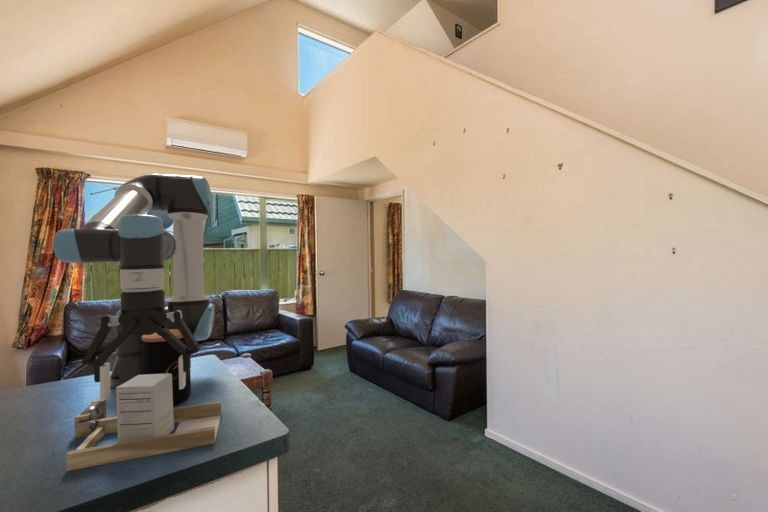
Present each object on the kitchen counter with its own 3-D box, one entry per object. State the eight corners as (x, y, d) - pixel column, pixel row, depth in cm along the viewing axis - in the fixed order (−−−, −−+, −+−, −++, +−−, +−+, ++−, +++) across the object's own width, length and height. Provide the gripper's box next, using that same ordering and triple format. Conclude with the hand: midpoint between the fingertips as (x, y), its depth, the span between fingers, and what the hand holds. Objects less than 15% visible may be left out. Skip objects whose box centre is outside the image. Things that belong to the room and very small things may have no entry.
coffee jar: (168, 412, 85) (166, 339, 85) (132, 409, 87) (130, 337, 87) (200, 394, 95) (198, 329, 95) (167, 392, 98) (165, 328, 97)
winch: (92, 419, 82) (91, 399, 82) (117, 415, 84) (116, 396, 84) (65, 445, 71) (65, 423, 71) (95, 440, 73) (94, 418, 72)
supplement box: (140, 431, 76) (138, 373, 76) (175, 429, 77) (173, 372, 76) (116, 450, 69) (114, 387, 69) (154, 448, 69) (153, 385, 69)
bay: (100, 432, 76) (100, 418, 76) (221, 413, 84) (221, 400, 84) (66, 471, 62) (66, 454, 62) (214, 443, 70) (214, 429, 70)
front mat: (180, 422, 80) (180, 421, 80) (220, 415, 83) (220, 415, 83) (168, 448, 69) (168, 447, 69) (215, 439, 72) (215, 439, 72)
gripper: (57, 295, 64) (60, 409, 64) (207, 287, 73) (209, 389, 73) (77, 291, 72) (79, 394, 71) (211, 285, 80) (213, 377, 80)
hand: (145, 392), depth 72 cm, fingers open, 13 cm apart
